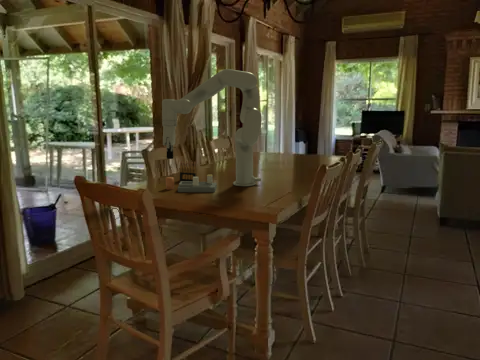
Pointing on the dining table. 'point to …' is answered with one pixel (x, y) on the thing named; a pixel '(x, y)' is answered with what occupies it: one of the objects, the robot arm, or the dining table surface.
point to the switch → (195, 181)
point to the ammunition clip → (187, 171)
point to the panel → (196, 187)
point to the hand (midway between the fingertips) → (170, 158)
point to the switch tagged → (209, 179)
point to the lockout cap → (169, 183)
